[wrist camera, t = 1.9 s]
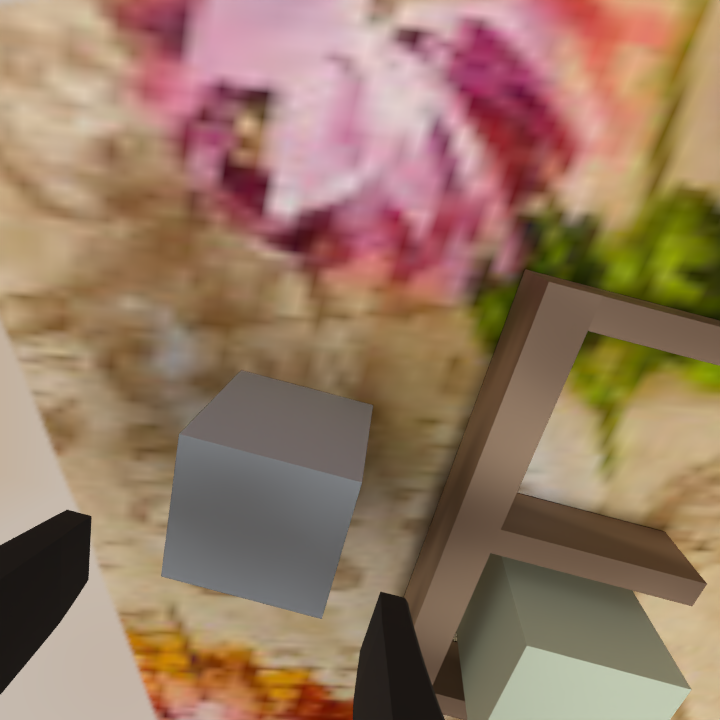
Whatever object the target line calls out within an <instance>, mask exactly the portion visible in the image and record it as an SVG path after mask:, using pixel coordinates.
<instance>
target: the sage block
mask: <svg viewBox="0 0 720 720" xmlns="http://www.w3.org/2000/svg"><path fill="white" fill-rule="evenodd" d="M456 634H457V641H458V649H459V657H460V665H461V673H462V681H463V688H464V696H465V704H466V712H467V720H670V719H671V717H672V716H673V715H674V713H675V712H676V710H677V709H678V708H679V706H680V705H681V704H682V702H683V701H684V699H685V698H686V697H687V695H688V694H689V693H690V691H691V688H690V686H689V685H688V683H687V681H686V680H685V678H684V676H683V675H682V673H681V671H680V670H679V668H678V666H677V665H676V663H675V661H674V660H673V658H672V656H671V655H670V653H669V651H668V650H667V648H666V646H665V645H664V643H663V641H662V640H661V638H660V636H659V635H658V633H657V631H656V630H655V628H654V626H653V625H652V623H651V621H650V620H649V618H648V616H647V615H646V613H645V611H644V609H643V608H642V606H641V604H640V603H639V601H638V599H637V598H636V596H635V594H634V593H633V591H632V590H629V589H625V588H621V587H617V586H613V585H610V584H606V583H602V582H598V581H594V580H591V579H587V578H583V577H579V576H575V575H572V574H568V573H564V572H560V571H556V570H553V569H549V568H545V567H541V566H537V565H534V564H530V563H526V562H522V561H518V560H515V559H511V558H507V557H503V556H499V555H496V554H492V553H490V555H489V558H488V560H487V562H486V564H485V567H484V569H483V571H482V574H481V576H480V578H479V580H478V583H477V585H476V587H475V590H474V592H473V594H472V596H471V599H470V601H469V603H468V606H467V608H466V610H465V612H464V615H463V617H462V619H461V622H460V624H459V626H458V628H457V631H456Z"/></svg>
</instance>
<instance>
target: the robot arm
mask: <svg viewBox="0 0 720 720" xmlns="http://www.w3.org/2000/svg"><path fill="white" fill-rule="evenodd" d="M90 535H91V516H89V515H85V514H81V513H77V512H74V511H69V510H66V511H64V512H62V513H60V514H58V515H56V516H54V517H52V518H51V519H49V520H47V521H45V522H43V523H41V524H39V525H37V526H35V527H34V528H32V529H30V530H28V531H26V532H25V533H22V534H21V535H19V536H17V537H15V538H13V539H11V540H9V541H8V542H6V543H4V544H2V545H0V694H1V693H2V692H3V691H4V690H5V688H6V687H7V686H8V685H9V684H10V682H11V681H12V680H13V679H14V678H15V676H16V675H17V674H18V673H19V672H20V670H21V669H22V668H23V667H24V666H25V664H26V663H27V662H28V661H29V660H30V658H31V657H32V656H33V655H34V654H35V652H36V651H37V650H38V649H39V648H40V646H41V645H42V644H43V643H44V641H45V640H46V639H47V638H48V636H49V635H50V634H51V633H52V632H53V630H54V629H55V628H56V627H57V626H58V624H59V623H60V621H61V620H62V619H63V617H64V616H65V614H66V613H67V611H68V610H69V608H70V607H71V605H72V604H73V603H74V601H75V600H76V598H77V596H78V595H79V593H80V592H81V590H82V589H83V587H84V586H85V584H86V583H87V581H88V576H89V555H90ZM353 720H445V719H444V716H443V714H442V711H441V708H440V706H439V703H438V700H437V697H436V695H435V692H434V689H433V686H432V683H431V680H430V677H429V674H428V672H427V668H426V665H425V662H424V659H423V656H422V653H421V649H420V646H419V643H418V639H417V636H416V632H415V629H414V625H413V621H412V617H411V613H410V609H409V605H408V602H407V600H406V599H405V598H403V597H399V596H395V595H391V594H387V593H383V592H380V595H379V598H378V601H377V604H376V607H375V609H374V612H373V615H372V618H371V621H370V624H369V627H368V630H367V633H366V636H365V638H364V641H363V644H362V647H361V650H360V656H359V663H358V670H357V678H356V686H355V693H354V704H353Z"/></svg>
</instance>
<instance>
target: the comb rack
mask: <svg viewBox="0 0 720 720" xmlns="http://www.w3.org/2000/svg"><path fill="white" fill-rule="evenodd" d="M587 331H591V332H595V333H598V334H602V335H606V336H610V337H613V338H617V339H621V340H625V341H629V342H632V343H636V344H640V345H644V346H648V347H651V348H655V349H659V350H663V351H667V352H670V353H674V354H678V355H682V356H686V357H689V358H693V359H697V360H701V361H705V362H708V363H712V364H716V365H720V320H716V319H712V318H708V317H705V316H701V315H697V314H693V313H689V312H686V311H682V310H678V309H674V308H670V307H667V306H663V305H659V304H655V303H651V302H648V301H644V300H640V299H636V298H632V297H629V296H625V295H621V294H617V293H613V292H610V291H606V290H602V289H598V288H594V287H591V286H587V285H583V284H579V283H575V282H572V281H568V280H564V279H560V278H556V277H553V276H549V275H545V274H541V273H537V272H534V271H530V270H526V269H525V271H524V273H523V276H522V279H521V282H520V284H519V287H518V290H517V292H516V295H515V298H514V301H513V303H512V306H511V309H510V311H509V314H508V317H507V319H506V322H505V325H504V328H503V330H502V333H501V336H500V338H499V341H498V344H497V346H496V349H495V352H494V355H493V357H492V360H491V363H490V365H489V368H488V371H487V374H486V376H485V379H484V382H483V384H482V387H481V390H480V392H479V395H478V398H477V401H476V403H475V406H474V409H473V411H472V414H471V417H470V419H469V422H468V425H467V428H466V430H465V433H464V436H463V438H462V441H461V444H460V446H459V449H458V452H457V455H456V457H455V460H454V463H453V465H452V468H451V471H450V474H449V476H448V479H447V482H446V484H445V487H444V490H443V492H442V495H441V498H440V501H439V503H438V506H437V509H436V511H435V514H434V517H433V519H432V522H431V525H430V528H429V530H428V533H427V536H426V538H425V541H424V544H423V547H422V549H421V552H420V555H419V557H418V560H417V563H416V565H415V568H414V571H413V574H412V576H411V579H410V582H409V584H408V587H407V590H406V592H405V595H404V598H405V599H406V600H407V602H408V605H409V609H410V613H411V617H412V621H413V625H414V629H415V632H416V636H417V639H418V643H419V646H420V649H421V653H422V656H423V659H424V662H425V665H426V668H427V672H428V674H429V677H430V680H431V683H432V686H433V689H434V692H435V695H436V697H437V700H438V703H439V706H440V708H441V711H442V714H444V715H447V716H451V717H455V718H459V719H463V720H467V712H466V704H465V696H464V688H463V681H462V673H461V665H460V657H459V649H458V643H457V642H454V641H452V640H453V638H454V635H455V633H456V631H457V628H458V626H459V624H460V622H461V619H462V617H463V615H464V612H465V610H466V608H467V606H468V603H469V601H470V599H471V596H472V594H473V592H474V590H475V587H476V585H477V583H478V580H479V578H480V576H481V574H482V571H483V569H484V567H485V564H486V562H487V560H488V558H489V555H490V553H492V554H496V555H499V556H503V557H507V558H511V559H515V560H518V561H522V562H526V563H530V564H534V565H537V566H541V567H545V568H549V569H553V570H556V571H560V572H564V573H568V574H572V575H575V576H579V577H583V578H587V579H591V580H594V581H598V582H602V583H606V584H610V585H613V586H617V587H621V588H625V589H629V590H632V591H636V592H640V593H644V594H648V595H651V596H655V597H659V598H663V599H667V600H670V601H674V602H678V603H682V604H686V605H689V606H693V604H694V603H695V601H696V600H697V598H698V597H699V595H700V594H701V592H702V591H703V589H704V588H705V586H706V585H707V583H706V582H705V581H704V580H703V578H702V577H701V576H700V575H699V573H698V572H697V571H696V570H695V569H694V567H693V566H692V565H691V564H690V562H689V561H688V560H687V559H686V557H685V556H684V555H683V554H682V552H681V551H680V550H679V549H678V547H677V546H676V545H675V544H674V542H673V541H672V540H671V539H670V537H669V536H668V535H667V534H666V532H663V531H659V530H655V529H652V528H648V527H644V526H640V525H636V524H633V523H629V522H625V521H621V520H617V519H614V518H610V517H606V516H602V515H598V514H595V513H591V512H587V511H583V510H579V509H576V508H572V507H568V506H564V505H560V504H557V503H553V502H549V501H545V500H541V499H538V498H534V497H530V496H526V495H522V494H519V493H517V491H518V489H519V487H520V484H521V482H522V480H523V478H524V475H525V473H526V471H527V468H528V466H529V464H530V462H531V459H532V457H533V455H534V452H535V450H536V448H537V446H538V443H539V441H540V439H541V436H542V434H543V432H544V430H545V427H546V425H547V423H548V420H549V418H550V416H551V414H552V411H553V409H554V407H555V404H556V402H557V400H558V398H559V395H560V393H561V391H562V388H563V386H564V384H565V382H566V379H567V377H568V375H569V372H570V370H571V368H572V366H573V363H574V361H575V359H576V356H577V354H578V352H579V350H580V347H581V345H582V343H583V340H584V338H585V336H586V334H587Z"/></svg>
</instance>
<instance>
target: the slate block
mask: <svg viewBox="0 0 720 720" xmlns="http://www.w3.org/2000/svg"><path fill="white" fill-rule="evenodd" d="M372 409H373V405H371V404H367V403H363V402H360V401H356V400H352V399H348V398H345V397H341V396H337V395H333V394H329V393H326V392H322V391H318V390H314V389H311V388H307V387H303V386H299V385H295V384H292V383H288V382H284V381H280V380H276V379H273V378H269V377H265V376H261V375H258V374H254V373H250V372H246V371H242V370H241V371H240V372H239V373H238V374H237V375H236V376H235V377H234V378H233V379H232V380H231V381H230V382H229V383H228V384H227V385H226V386H225V387H224V388H223V389H222V390H221V391H220V392H219V393H218V394H217V396H216V397H215V398H214V399H213V400H212V401H211V402H210V403H209V404H208V405H207V406H206V407H205V408H204V409H203V410H202V411H201V412H200V413H199V414H198V415H197V416H196V417H195V418H194V419H193V420H192V421H191V422H190V423H189V424H188V425H187V426H186V427H185V428H184V429H183V430H182V431H181V433H180V434H179V439H178V447H177V455H176V463H175V471H174V479H173V487H172V494H171V502H170V510H169V518H168V526H167V534H166V542H165V550H164V558H163V566H162V574H161V576H162V577H166V578H169V579H173V580H177V581H181V582H185V583H188V584H192V585H196V586H200V587H203V588H207V589H211V590H215V591H218V592H222V593H226V594H230V595H233V596H237V597H241V598H245V599H248V600H252V601H256V602H260V603H263V604H267V605H271V606H275V607H279V608H282V609H286V610H290V611H294V612H297V613H301V614H305V615H309V616H312V617H316V618H320V619H322V616H323V613H324V610H325V606H326V603H327V599H328V596H329V593H330V589H331V586H332V582H333V579H334V576H335V572H336V569H337V566H338V562H339V559H340V555H341V552H342V549H343V545H344V542H345V539H346V535H347V532H348V528H349V525H350V522H351V518H352V515H353V511H354V508H355V505H356V501H357V498H358V495H359V491H360V488H361V484H362V479H363V472H364V465H365V458H366V451H367V444H368V437H369V430H370V423H371V416H372Z"/></svg>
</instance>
